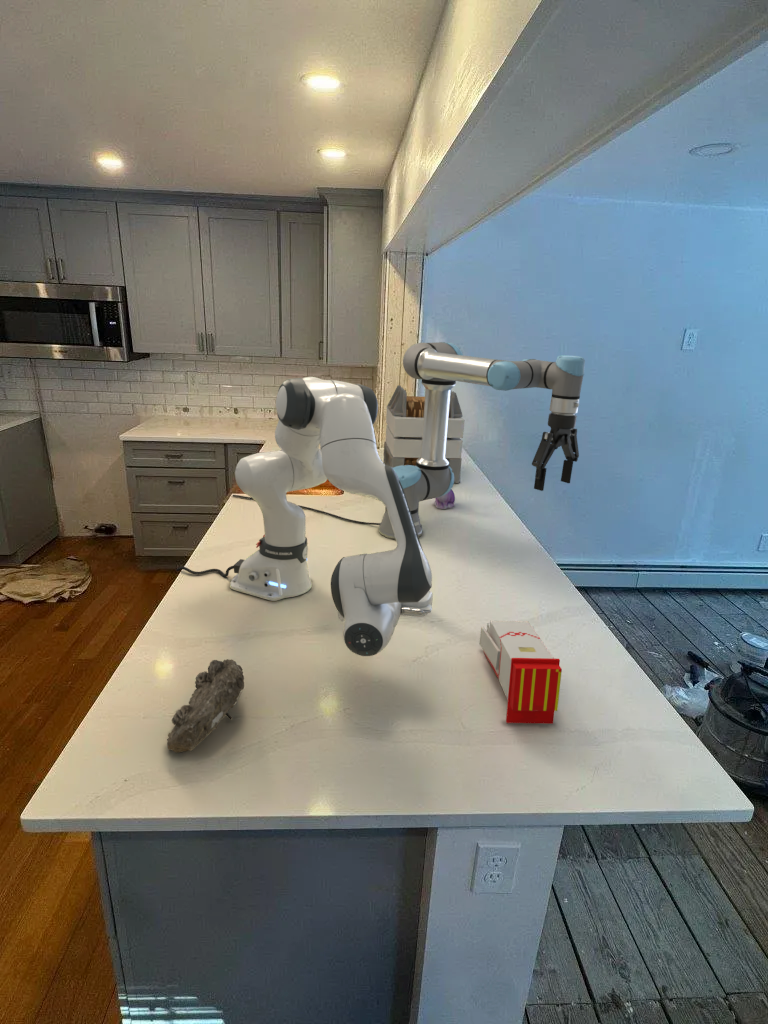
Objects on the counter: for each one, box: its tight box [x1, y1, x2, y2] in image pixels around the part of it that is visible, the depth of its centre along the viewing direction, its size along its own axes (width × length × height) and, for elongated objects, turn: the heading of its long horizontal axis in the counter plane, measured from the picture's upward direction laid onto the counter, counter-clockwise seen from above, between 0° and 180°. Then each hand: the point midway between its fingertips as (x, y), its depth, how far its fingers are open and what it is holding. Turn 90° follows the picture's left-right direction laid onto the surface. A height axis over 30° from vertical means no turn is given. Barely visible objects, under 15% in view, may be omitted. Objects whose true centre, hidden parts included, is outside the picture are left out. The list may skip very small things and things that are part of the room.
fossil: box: [166, 658, 245, 754], centre depth 106 cm, size 22×10×15 cm
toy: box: [478, 620, 563, 725], centre depth 121 cm, size 12×13×30 cm
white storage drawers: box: [383, 384, 465, 484], centre depth 268 cm, size 34×33×41 cm
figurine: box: [434, 488, 456, 510], centre depth 228 cm, size 9×10×15 cm
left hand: (390, 587), depth 129 cm, fingers open, 8 cm apart
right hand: (552, 485), depth 166 cm, fingers open, 13 cm apart
